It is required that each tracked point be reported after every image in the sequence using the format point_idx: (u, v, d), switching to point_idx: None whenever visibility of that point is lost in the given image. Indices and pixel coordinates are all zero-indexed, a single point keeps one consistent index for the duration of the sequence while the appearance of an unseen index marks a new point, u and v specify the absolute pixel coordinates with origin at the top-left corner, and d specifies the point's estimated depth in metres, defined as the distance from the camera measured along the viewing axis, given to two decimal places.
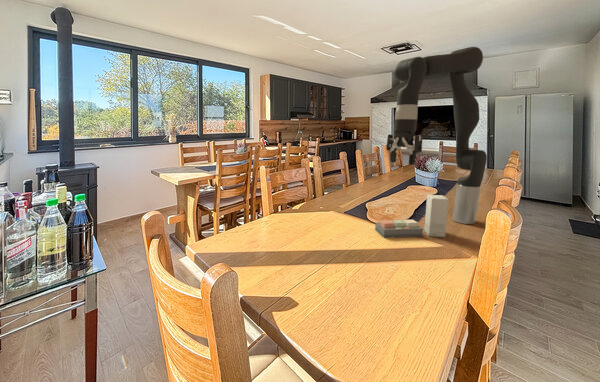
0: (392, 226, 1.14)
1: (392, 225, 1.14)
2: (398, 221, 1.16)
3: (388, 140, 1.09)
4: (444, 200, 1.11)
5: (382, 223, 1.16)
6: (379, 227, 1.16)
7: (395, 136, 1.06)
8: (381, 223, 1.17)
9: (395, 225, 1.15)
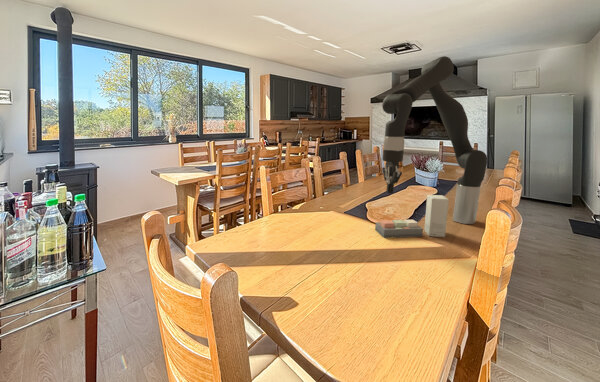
0: (392, 226, 1.14)
1: (392, 225, 1.14)
2: (398, 221, 1.16)
3: None
4: (444, 200, 1.11)
5: (382, 223, 1.16)
6: (379, 227, 1.16)
7: None
8: (381, 223, 1.17)
9: (395, 225, 1.15)
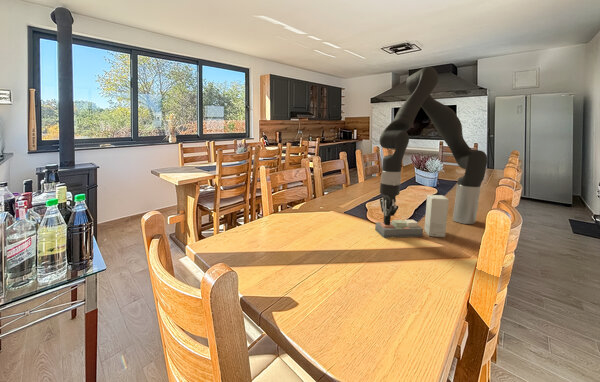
0: None
1: None
2: (398, 221, 1.16)
3: None
4: (444, 200, 1.11)
5: (382, 225, 1.16)
6: (379, 227, 1.16)
7: None
8: (381, 225, 1.17)
9: (395, 225, 1.15)
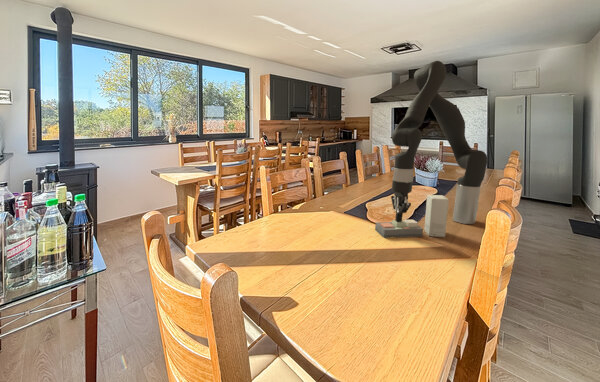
0: None
1: None
2: None
3: None
4: (444, 200, 1.11)
5: (382, 226, 1.16)
6: (379, 227, 1.16)
7: None
8: None
9: (395, 225, 1.15)
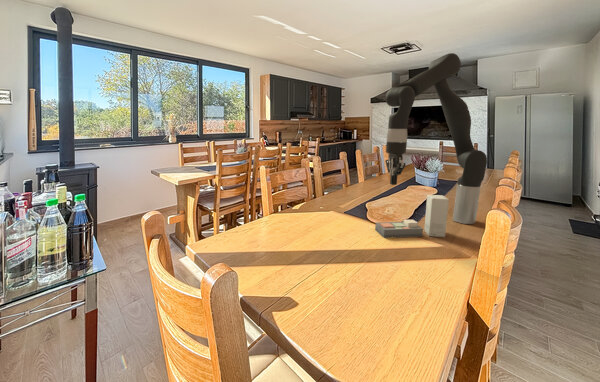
0: None
1: None
2: (398, 224, 1.17)
3: None
4: (444, 200, 1.11)
5: (382, 226, 1.16)
6: (379, 227, 1.16)
7: None
8: None
9: None
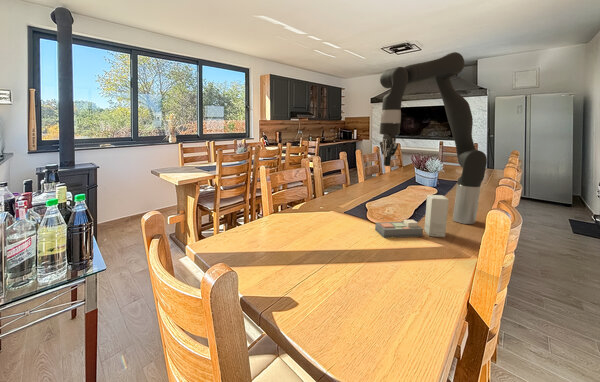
0: None
1: None
2: (398, 224, 1.17)
3: None
4: (444, 200, 1.11)
5: (382, 226, 1.16)
6: (379, 227, 1.16)
7: None
8: None
9: None
